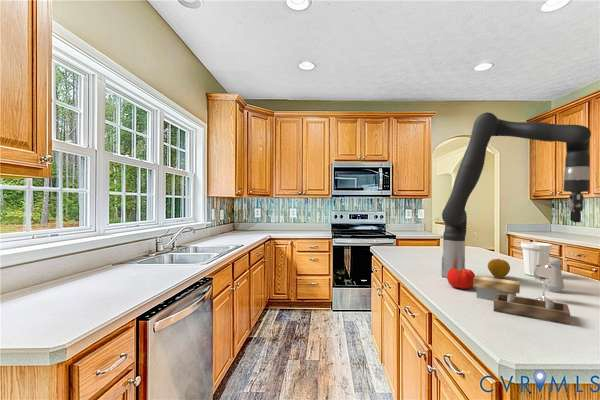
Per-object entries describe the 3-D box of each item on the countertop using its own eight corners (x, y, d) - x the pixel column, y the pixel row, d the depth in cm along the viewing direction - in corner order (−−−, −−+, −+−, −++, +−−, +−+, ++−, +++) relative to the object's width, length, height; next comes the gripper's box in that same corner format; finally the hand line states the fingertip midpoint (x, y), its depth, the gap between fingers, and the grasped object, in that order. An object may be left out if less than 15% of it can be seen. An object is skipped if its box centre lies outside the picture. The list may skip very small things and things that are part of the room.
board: (473, 286, 119) (473, 278, 119) (475, 283, 123) (475, 275, 123) (519, 293, 111) (519, 284, 111) (519, 290, 115) (519, 281, 115)
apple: (488, 274, 156) (488, 255, 156) (510, 277, 151) (510, 258, 151) (486, 278, 149) (486, 258, 149) (509, 281, 143) (509, 261, 143)
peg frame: (493, 311, 104) (493, 297, 104) (496, 303, 113) (496, 290, 112) (570, 325, 93) (570, 309, 93) (566, 315, 101) (567, 300, 101)
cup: (558, 278, 149) (559, 245, 149) (531, 278, 149) (532, 245, 149) (539, 272, 162) (539, 241, 161) (514, 272, 162) (514, 241, 162)
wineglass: (549, 297, 119) (550, 265, 119) (556, 302, 114) (556, 268, 114) (531, 296, 121) (531, 264, 121) (537, 300, 116) (537, 267, 116)
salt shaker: (567, 293, 125) (568, 260, 125) (550, 292, 126) (551, 259, 126) (558, 289, 131) (559, 257, 131) (542, 288, 132) (543, 256, 132)
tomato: (447, 289, 129) (448, 270, 129) (446, 282, 140) (446, 265, 140) (477, 292, 126) (478, 273, 125) (474, 285, 136) (474, 267, 136)
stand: (476, 297, 119) (476, 286, 119) (477, 294, 122) (478, 284, 122) (515, 304, 112) (515, 292, 112) (516, 301, 115) (516, 289, 115)
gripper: (562, 180, 131) (561, 220, 131) (565, 178, 120) (564, 222, 120) (586, 180, 127) (585, 221, 127) (592, 178, 115) (591, 223, 115)
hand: (575, 221), depth 123 cm, fingers open, 8 cm apart
